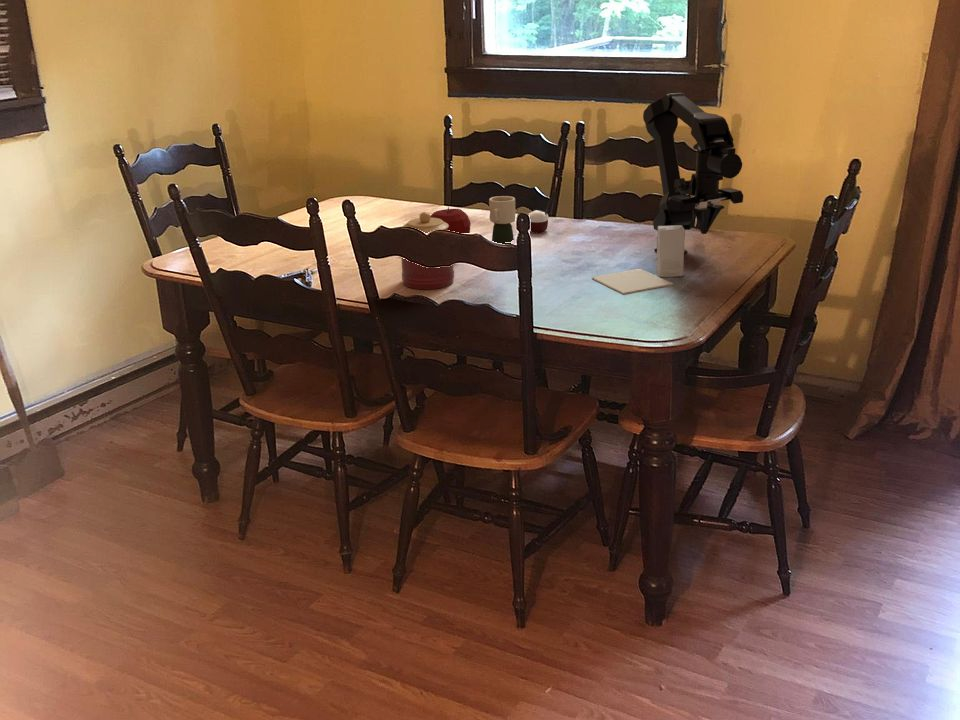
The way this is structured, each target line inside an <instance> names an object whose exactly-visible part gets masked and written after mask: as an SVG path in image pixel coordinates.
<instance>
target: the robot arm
mask: <svg viewBox="0 0 960 720" xmlns="http://www.w3.org/2000/svg"><path fill="white" fill-rule="evenodd" d="M642 118H643V122H644V124H645V128H646V132H647V133H648V134H649V135H650V136H651V138H652V139H653V140H654V145H655V151H656V156H657V163H658V168H659V174H660V181H661V188H662V193H663V195H662V197H661V200H660V202H659V205H658V209H659V211H658V213H657V214H656V216H655V218H653V221H652V222H653V224H652V227H653V230H655V231H656V232H658V226H674V225H682V226H683V228H684V229H685V231H690V230H692V225H693V221H694V218H695V217H696V220H697V223H698V227H699V230H700V233H701V234H702V235H706V234H708V232H709V230H710V228H711V226H712V225H713V223H714V221H715V219H716V218H717V217H718V216H719V213H720V212H721V211H722V210H724V209H725V205H722V203H721V201H728V200H729V201H730V202H731V203H732V204H734V205H735V204H742V203H744V193H743V192H742V190H741V189H737V188H734V187H726V188H725V187H724V188H720V181H723V180H724V178H725V179H734V178H735V177H737V176H738V175H739V174H740V172H741V170H742V167H743V162H742V158H741V157H740V155H738V154H736V148H735V144H734V138H733V136H732V133H731V130H730V128H729V127H730V126H729V124H728V122H727V120H726V118H725V117H724V116H721V115H719V114H716V113H709V112H706V111H704V110H703V109H702V108H701V107H699V105H697V104H695V103H694V102H693V101H692V100H690V99H689V98H688V97H687V95H686V94H685V93H683V92H674V93H667V94H664V95H663V97H661V98H660V99H658V100H656V101H654V102H652V103H650V104H648V105H647V107H646V108H645V110H644V111H643V113H642ZM679 120H681V121H682V122H683V123H685V125H687V126H688V127H689V128H690V135H691V136H692V138H693V139H694V140H695V142H696V143H695V144H694V145H693V147H692V148H693V150H696V161H695V173H692V174H691V176H690V180H686V179H685V177H682V178H681V173H680V168H679V162H678V154H677V150H676V142H675V137H674V135H675V133H676V131H677V127H678V125H679ZM685 236H686V233H685V234H684V242H685V239H686V237H685ZM688 251H689V250H686V249H684V254H688ZM654 252H656V253H657V247H656V248H654Z"/></svg>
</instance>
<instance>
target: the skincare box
mask: <svg viewBox="0 0 960 720" xmlns="http://www.w3.org/2000/svg"><path fill="white" fill-rule="evenodd" d="M656 232H657V236H656V237H657V239H656V248H657V252H656V274H657V275H658V276H657V277H660V278H668V277H669V278H670V277H683V276H684V264H685V263H684V262H685V261H684V260H685V259H684V258H685V253H684V250H685V241H684V234H685V235H686V230H685V229H684V228H683V226H682V225H674V226H658V231H656Z"/></svg>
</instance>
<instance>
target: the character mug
mask: <svg viewBox="0 0 960 720" xmlns="http://www.w3.org/2000/svg"><path fill="white" fill-rule="evenodd" d="M488 207H489V221H490V222H491V223H493V227H492V234H491V235H492V236H491V242H492V241H494V242H497V243H502V244H510V245H512V244H511V243H505V242H511V241H512V240H514V241H515V237H514V230H513V225H512V223H514V222H515V221H516V197H514V196H509V195H501V196H492V197H490V198H489V199H488Z"/></svg>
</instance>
